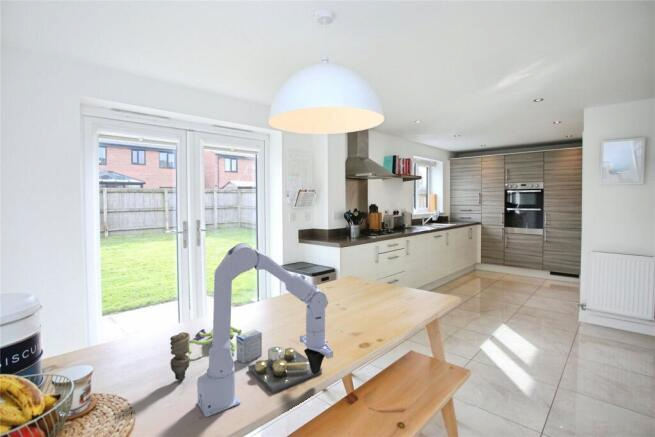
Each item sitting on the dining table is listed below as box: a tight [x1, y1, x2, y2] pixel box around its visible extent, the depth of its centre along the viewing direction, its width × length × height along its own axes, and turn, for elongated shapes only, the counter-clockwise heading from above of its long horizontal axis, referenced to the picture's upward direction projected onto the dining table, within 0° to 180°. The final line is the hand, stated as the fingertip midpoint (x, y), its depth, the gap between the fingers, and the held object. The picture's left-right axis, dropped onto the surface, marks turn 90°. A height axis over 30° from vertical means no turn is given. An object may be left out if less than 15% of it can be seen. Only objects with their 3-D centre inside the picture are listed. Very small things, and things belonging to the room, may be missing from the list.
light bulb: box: [169, 331, 191, 382], centre depth 100 cm, size 6×6×15 cm
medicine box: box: [235, 329, 263, 364], centre depth 115 cm, size 8×4×9 cm, turn 141°
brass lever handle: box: [273, 360, 309, 376], centre depth 102 cm, size 11×4×3 cm, turn 98°
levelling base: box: [248, 346, 323, 394], centre depth 105 cm, size 18×16×7 cm
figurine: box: [187, 326, 243, 357], centre depth 125 cm, size 18×27×6 cm
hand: (315, 372), depth 99 cm, fingers closed
